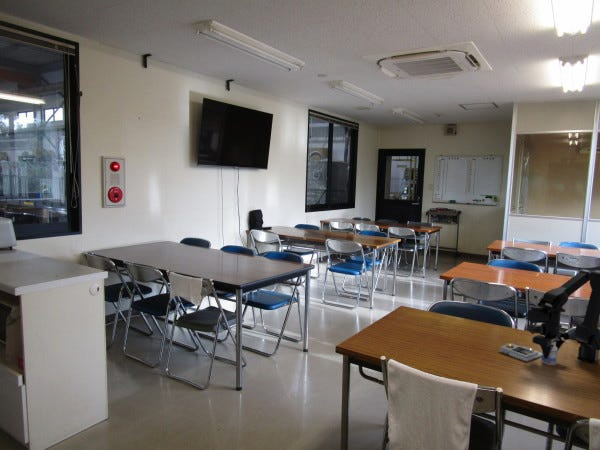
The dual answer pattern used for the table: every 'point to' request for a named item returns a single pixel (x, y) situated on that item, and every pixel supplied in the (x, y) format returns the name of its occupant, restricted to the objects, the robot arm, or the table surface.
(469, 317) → the table surface
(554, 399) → the table surface
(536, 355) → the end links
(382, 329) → the table surface
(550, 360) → the pill bottle
